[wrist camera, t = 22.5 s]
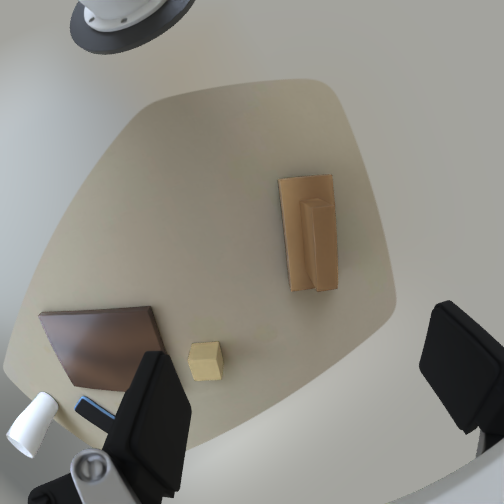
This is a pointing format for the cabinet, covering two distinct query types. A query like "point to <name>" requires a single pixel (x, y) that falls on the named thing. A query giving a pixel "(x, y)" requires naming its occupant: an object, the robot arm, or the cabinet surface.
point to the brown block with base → (310, 231)
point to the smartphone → (94, 414)
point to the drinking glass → (33, 424)
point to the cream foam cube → (206, 361)
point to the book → (102, 344)
